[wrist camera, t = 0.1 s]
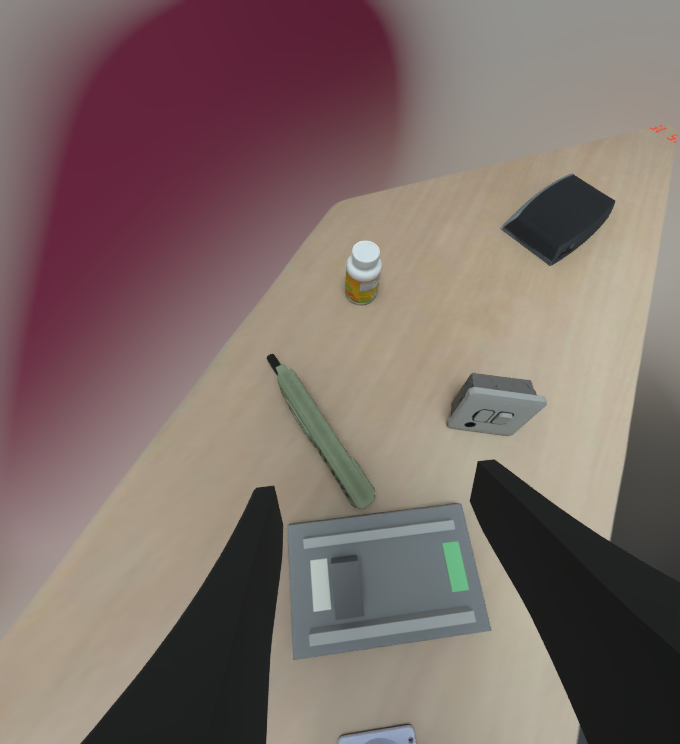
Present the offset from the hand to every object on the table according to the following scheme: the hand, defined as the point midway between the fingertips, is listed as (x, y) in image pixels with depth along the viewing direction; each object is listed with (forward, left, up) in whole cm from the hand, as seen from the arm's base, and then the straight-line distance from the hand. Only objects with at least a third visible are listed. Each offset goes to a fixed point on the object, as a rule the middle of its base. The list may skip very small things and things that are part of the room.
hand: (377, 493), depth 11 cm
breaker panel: (-10, -3, -32) cm, 33 cm away
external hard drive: (+44, -46, -33) cm, 71 cm away
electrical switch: (+8, -20, -32) cm, 39 cm away
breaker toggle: (-10, +1, -30) cm, 31 cm away
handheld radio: (+9, +4, -32) cm, 34 cm away
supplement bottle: (+31, -6, -32) cm, 45 cm away
